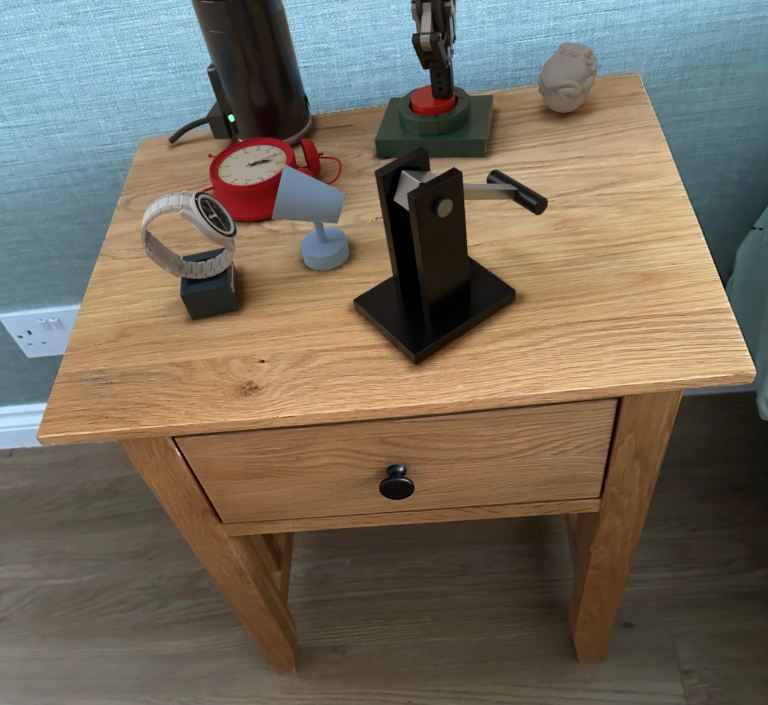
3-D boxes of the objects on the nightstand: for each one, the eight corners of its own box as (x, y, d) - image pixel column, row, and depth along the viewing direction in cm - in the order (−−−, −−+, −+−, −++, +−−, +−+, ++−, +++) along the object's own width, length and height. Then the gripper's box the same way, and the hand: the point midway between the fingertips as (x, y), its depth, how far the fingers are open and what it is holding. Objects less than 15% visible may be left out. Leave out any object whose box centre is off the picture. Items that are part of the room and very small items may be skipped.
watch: (258, 305, 64) (221, 209, 56) (173, 323, 64) (123, 230, 56) (256, 266, 68) (221, 171, 60) (176, 283, 68) (129, 190, 60)
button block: (377, 157, 78) (371, 125, 75) (392, 114, 83) (388, 82, 80) (485, 157, 75) (483, 123, 72) (493, 112, 80) (492, 79, 77)
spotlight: (284, 275, 66) (355, 269, 66) (255, 188, 59) (335, 180, 58) (290, 241, 70) (358, 235, 69) (263, 155, 62) (339, 147, 61)
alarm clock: (205, 142, 78) (327, 101, 73) (234, 187, 82) (350, 151, 77) (182, 199, 71) (315, 158, 66) (214, 244, 75) (341, 209, 71)
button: (409, 124, 76) (407, 107, 74) (416, 101, 79) (415, 84, 77) (452, 124, 75) (451, 106, 73) (458, 100, 78) (457, 83, 76)
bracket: (450, 251, 65) (438, 118, 55) (516, 299, 60) (516, 162, 50) (354, 308, 62) (323, 179, 52) (415, 365, 57) (393, 233, 46)
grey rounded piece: (606, 102, 78) (613, 41, 73) (568, 130, 76) (572, 69, 71) (562, 87, 82) (565, 28, 77) (524, 114, 79) (524, 54, 74)
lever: (494, 190, 62) (503, 164, 61) (542, 220, 58) (553, 193, 57) (378, 190, 54) (386, 160, 52) (426, 224, 50) (436, 193, 49)
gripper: (399, -105, 67) (420, 67, 80) (369, -52, 59) (398, 130, 72) (476, -114, 65) (485, 64, 78) (457, -61, 57) (470, 128, 70)
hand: (443, 95), depth 75 cm, fingers closed
